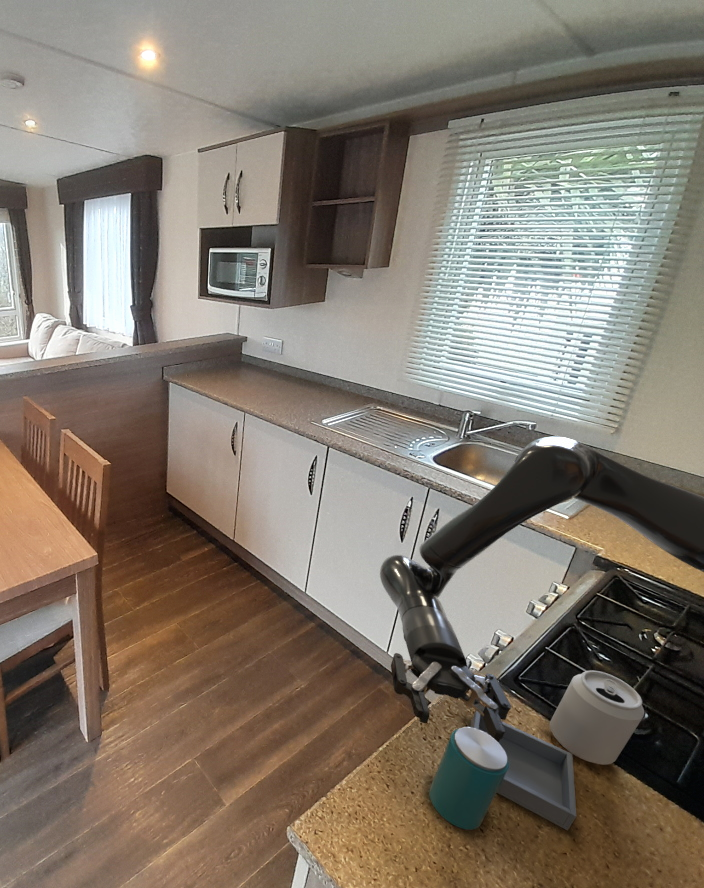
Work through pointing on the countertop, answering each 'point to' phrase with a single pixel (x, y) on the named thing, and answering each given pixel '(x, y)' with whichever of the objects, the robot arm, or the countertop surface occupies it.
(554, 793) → the gray rectangular tray
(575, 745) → the can
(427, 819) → the countertop surface
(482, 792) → the slim can
